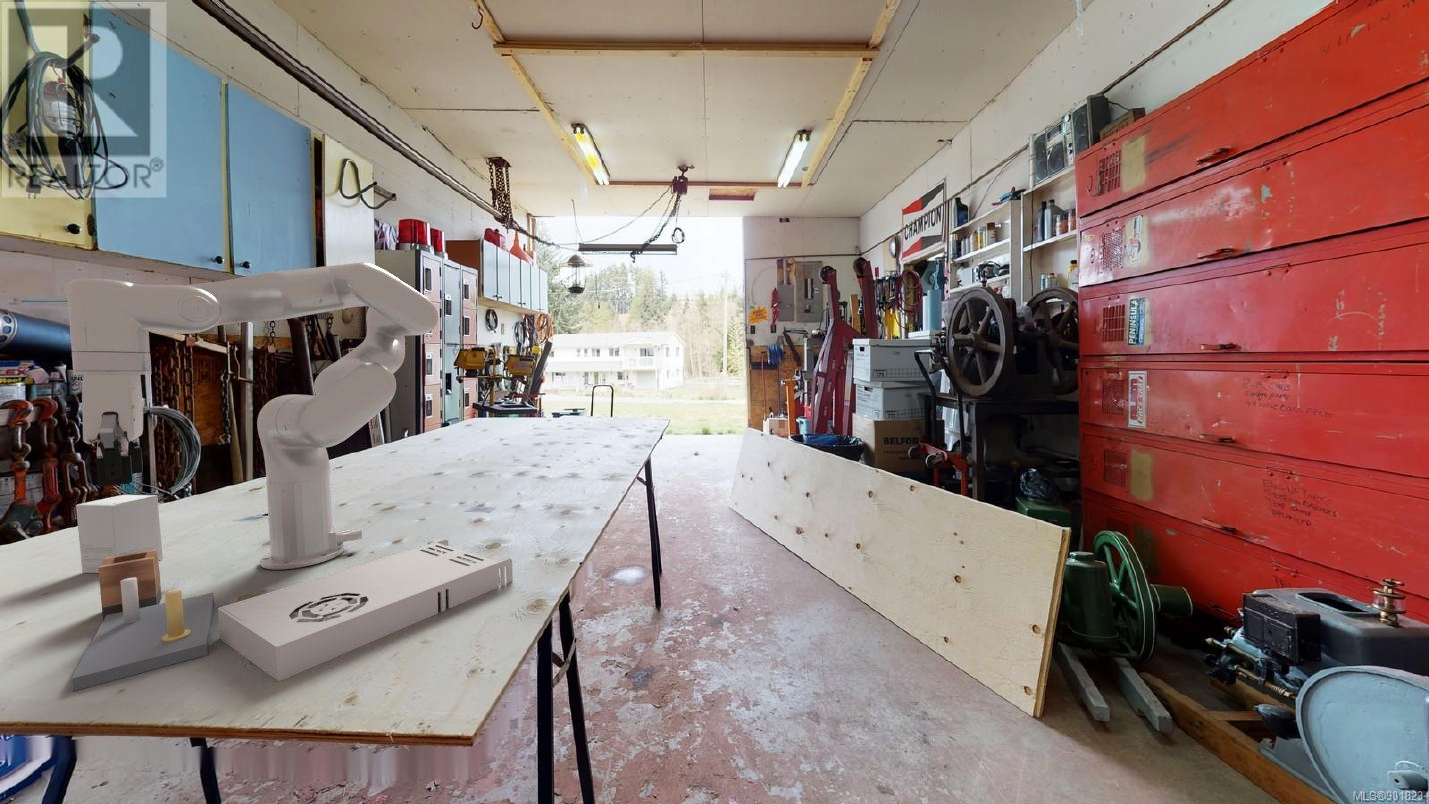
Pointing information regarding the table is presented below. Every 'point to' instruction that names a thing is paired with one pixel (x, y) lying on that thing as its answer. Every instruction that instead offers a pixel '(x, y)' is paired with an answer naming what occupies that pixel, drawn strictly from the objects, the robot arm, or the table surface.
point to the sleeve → (129, 567)
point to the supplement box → (117, 528)
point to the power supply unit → (354, 606)
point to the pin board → (146, 636)
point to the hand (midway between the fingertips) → (122, 479)
